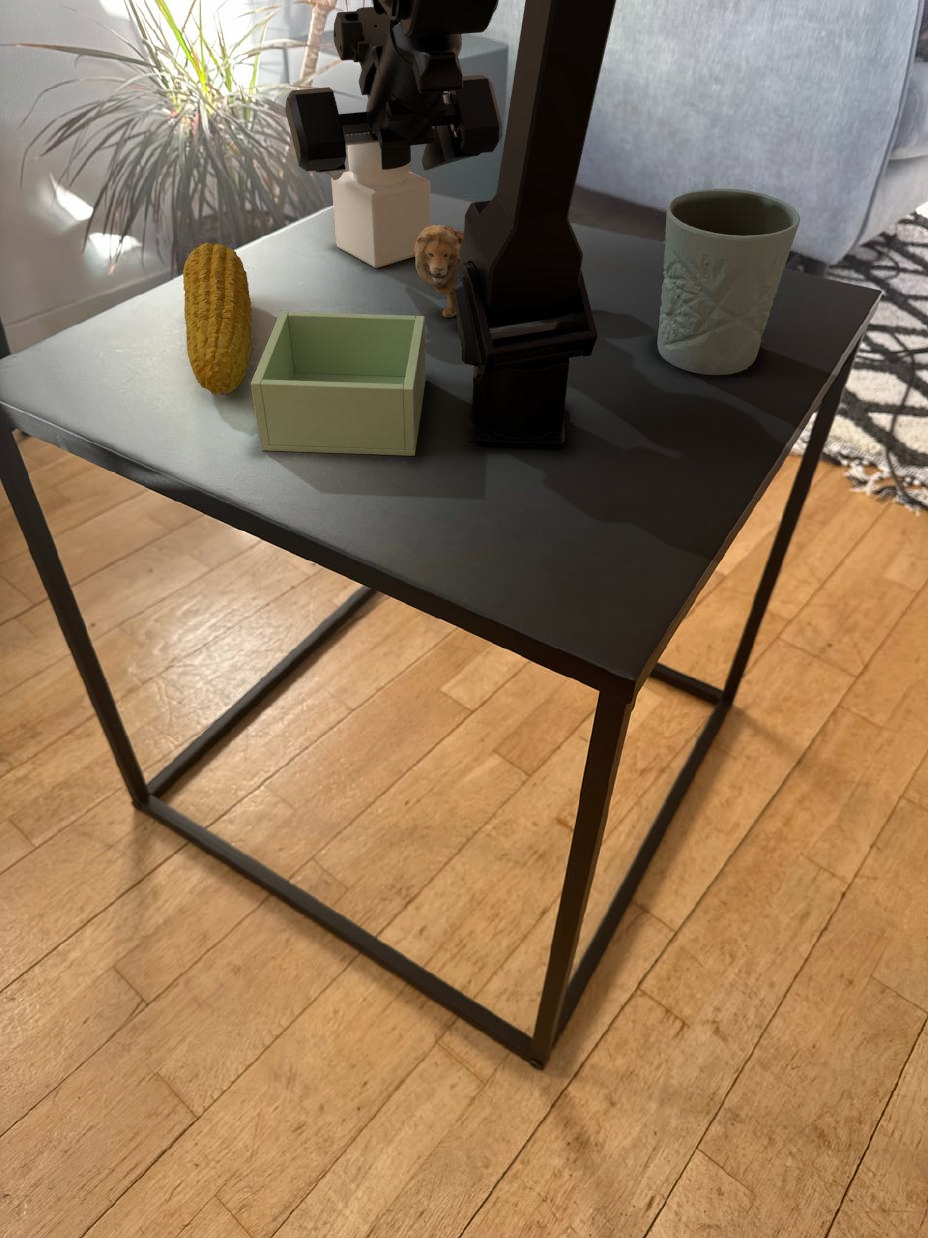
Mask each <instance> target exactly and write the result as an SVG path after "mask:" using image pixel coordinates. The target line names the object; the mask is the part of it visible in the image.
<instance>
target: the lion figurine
mask: <svg viewBox="0 0 928 1238" xmlns="http://www.w3.org/2000/svg"><path fill="white" fill-rule="evenodd" d="M463 237H464V232H461V231H457V230H455V229H454V227H452V226H447V225H442V224H436V225H435V224H431V227H426V228H425V229H424V230H423V231H422V232H421V233H420V235H419V236H418V238H417V241H416V245H415V248H414V255H415V257H414V258H415V269H416V271H417V274H418V276H419V279H420V280H421V281H422V282H423V283H425V284H428V285H431V286H432V288H433V289H435V291H436V292H437V293H438V294H439V295H446V298H447V300H448V307H446V308H444V309H443V311H442V316H443V317H444V318H445V319H446V318H454V317H455V316H456V315H457V314H456V307H455V302H454V297H453V291H452V289H453V286H454V285H453V280H454V278H455V271H456V268H457V266H458V264H460V262H461V257H462V256H460V249H461V246H462V242H463Z"/></svg>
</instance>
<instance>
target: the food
mask: <svg viewBox="0 0 928 1238" xmlns="http://www.w3.org/2000/svg"><path fill="white" fill-rule="evenodd" d="M247 274H248V273H247V271H246V270H245V267H244V264H243V261H242V259H241V257H240V256H238V254H237V251H235V250H234V249H232V248H231V247H227V245H226V244H223V243H222V244H221V243H215V244H211V243H210V242H208V241H207V242H205V243H203V244H200V245H199V246H198V247H195V248H194V249H193V250H192V251H191V252H190V253H189V256H188V257H187V258H186V260H185V262H184V266H183V269H182V275H183V278H182V279H183V280H182V281H183V291H184V294H183V297H184V308H183V310H184V313H183V315H184V320H185V329H186V330H185V331H186V332H185V333H186V335H185V336H186V351H187V357H188V360H189V364H190V367H191V370H192V373H193V375H194V377H195V379H196V381H197V383H198V384H199V385H200V386H201V387H200V388H202V389H205V390H208V391H209V392H210V393H211V395H213V396H217V395H219V394H222V395H226V394H229V393H232V392H233V391H234V390H236V389H237V388H239V386H240V385H241V383H242V381H243V380H244V379H245V376H246V374H247V369H248V366H249V362H250V358H251V355H252V354H251V351H252V311H253V309H252V301H251V295H250V288H249V286H250V285H249V281H248V275H247Z"/></svg>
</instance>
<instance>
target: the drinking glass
mask: <svg viewBox="0 0 928 1238" xmlns="http://www.w3.org/2000/svg"><path fill="white" fill-rule="evenodd" d="M800 222H801V217H800V214H799V212H798V211H797V209H796V208H795V207H794V206H792V205H790V203H788V202H786V201H784V200H782V199H781V198H777V197H774V196H772V195H769V194H766V193H761V192H757V191H753V190H748V189H747V190H746V189H739V188H738V189H737V188H711V189H709V188H708V189H699V190H692V191H688V192H684V193H683V194H681V195H679V196H676V197H674V198H673V199H672V200H671V201H670V202H669V204H668V206H667V207H666V217H665V237H664V238H665V243H666V244H665V247H664V256H663V268H664V271H663V273H662V275H663V277H664V278H663V282H662V285H661V295H660V301H661V306H660V308H659V320H658V321H659V323H658V325H659V326H658V330H657V351H658V354H659V355H660V356H661V357H662V358H663V359H664V360H665V361H666V362H667V363H669V364H671V365H672V366H674V367H676V368H678V369H681V370H684V371H686V372H689V373H695V374H700V375H706V376H707V375H708V376H723V375H733V374H737V373H740V372H743V371H746V370H748V369H749V367H752V365H753V364H754V362H755V360H756V359H757V356H758V353H759V350H760V347H761V344H762V336H763V334H764V333H765V329H766V327H767V324H768V321H769V318H770V315H771V309H772V307H773V305H774V299H775V297H776V295H777V293H778V288H779V285H780V283H781V280H782V277H783V272H784V269H785V267H786V263H787V261H788V258H789V256H790V252H791V250H792V246H793V243H794V240H795V236H796V234H797V231H798V228H799V226H800Z"/></svg>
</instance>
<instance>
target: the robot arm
mask: <svg viewBox="0 0 928 1238" xmlns="http://www.w3.org/2000/svg"><path fill="white" fill-rule="evenodd" d="M499 1H500V0H371V2H372V6H364V7H359V8H357V9H356V10H351V11H350V10H349V11H337V12H336V16H335V19H334V22H333V34H332V35H333V44H334V47H335V50H336V52H337V54H338V58H339V60H340V61H342V62H345V61H346V62H347V61H353V63H359V65H360V69H361V71H360V74H359V78H358V84H359V91H360V93H361V96H367V102H366V106H365V111H357V112H347V113H346V112H345V113H339V108H338V105H337V101H336V100H337V99H336V96H335V93H334V90H333V89H332V88H331V87H330V86H328V87H316V88H303V89H291V91H289V94H288V95H287V97H286V100H285V107H284V111H285V116H286V120H287V124H288V127H289V131H290V135H291V140H292V143H293V148H294V151H295V155H296V160H297V164H298V167H300V168H301V169H302V170H303V171H305V172H315V173H317V174H323V173H324V174H327V175H329V176H330V177H331V178H332V179H333V180H338V179H339V178H340V177H341V176H342V174H343V173H344V172H346V169H347V167H346V160H347V145H357V144H367V143H377V142H379V145H380V149H383V148H392V147H402V146H411V147H413V146H420V145H421V146H422V145H425V147H424V149H423V153H422V157H421V164H422V167H423V168H422V169H423V170H424V171H429V170H432V169H436V168H439V167H441V166H445V165H448V164H452V163H454V162H458V161H461V160H466V159H469V158H473V157H478V156H480V155H481V154H486V153H493V152H494V151H495V149H496V148H497V146H498V144H499V143H500V141H501V139H502V137H503V128H504V127H503V122H502V118H501V113H500V109H499V106H498V101H497V97H496V93H495V89H494V85H493V83H492V81H491V80H490V78H488V77H487V76H486V75H483V74H473V75H463V70H462V66H461V62H460V58H459V56H460V53H461V51H462V48H463V37H462V35H466V34H467V35H468V34H479V33H480V34H481V33H484V32H485V31H486V30H487V29H488V28H489V25H490V24H491V21H492V19H493V16H494V14H495V13H496V11H497V9H498V6H499ZM616 4H617V0H524V6H523V14H522V20H521V28H520V33H519V41H518V46H517V53H516V54H517V55H516V61H515V67H514V73H513V82H512V88H511V95H510V100H509V107H508V113H507V114H508V115H507V123H506V127H505V135H504V140H503V141H504V143H503V148H502V154H501V160H500V161H501V162H500V169H499V174H498V175H499V176H498V181H497V188H496V193H495V195H494V196H493V198H492V199H489V200H482V201H481V200H480V201H474V202H471V203H470V204H469V206H468V208H467V210H466V211H465V214H464V223H463V224H464V225H463V233H464V237H463V242H462V246H461V249H460V256H462V257H461V262H460V264H458V266H457V268H456V271H455V278H454V280H453V285H454V286H453V289H452V291H453V297H454V302H455V307H456V314H455V315H456V324H457V334H458V338H459V341H460V345H461V361H462V362H463V363H464V365H468V366H473V374H472V408H471V409H472V410H471V411H472V412H471V413H472V414H471V423H472V424H473V425H474V426H475V427H477V444H478V445H480V446H486V447H487V446H490V447H492V446H493V447H516V448H517V447H518V448H545V449H547V448H548V449H561V448H563V447H565V442H566V436H565V423H564V422H565V419H564V418H565V409H566V399H567V388H568V380H569V370H570V369H569V368H570V359H572V358H577V357H584V358H585V357H591V356H592V354H593V351H594V348H595V345H596V342H597V340H598V331H597V327H596V323H595V322H596V321H595V319H594V315H593V311H592V307H591V303H590V299H589V293H588V291H587V286H586V283H585V278H584V275H583V270H582V265H583V258H584V253H583V251H582V247H581V246H580V243H579V240H578V238H577V236H576V233H575V231H574V228H573V226H572V224H571V222H570V219H569V217H570V209H571V205H572V200H573V196H574V191H575V187H576V182H577V178H578V175H579V169H580V164H581V160H582V156H583V151H584V148H585V147H584V146H585V143H586V138H587V134H588V129H589V125H590V120H591V116H592V111H593V107H594V102H595V98H596V93H597V89H598V84H599V79H600V75H601V71H602V67H603V62H604V58H605V53H606V50H607V49H606V48H607V45H608V39H609V35H610V31H611V26H612V22H613V18H614V13H615V9H616ZM364 133H365V134H364ZM351 134H352V135H351ZM355 134H356V135H355ZM554 319H556V322H550V323H544V324H538V325H532V326H526V327H520V328H513V329H507V330H500V331H495V332H491V330H492V329H497V328H503V327H509V326H510V327H511V326H515V325H523V324H528V323H534V322H535V323H536V322H540V321H547V320H554Z"/></svg>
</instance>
